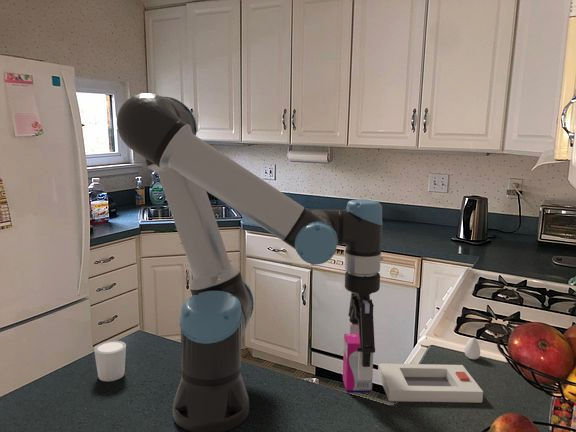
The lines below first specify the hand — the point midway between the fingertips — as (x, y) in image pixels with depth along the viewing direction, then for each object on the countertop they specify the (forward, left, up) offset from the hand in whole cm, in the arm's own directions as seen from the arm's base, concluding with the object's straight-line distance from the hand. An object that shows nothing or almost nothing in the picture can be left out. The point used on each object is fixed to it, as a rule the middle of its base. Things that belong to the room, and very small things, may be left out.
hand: (359, 363), depth 107 cm
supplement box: (0, 0, -6) cm, 6 cm away
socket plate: (+16, 0, -5) cm, 16 cm away
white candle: (-56, +3, -6) cm, 57 cm away
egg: (+32, +15, -6) cm, 35 cm away
